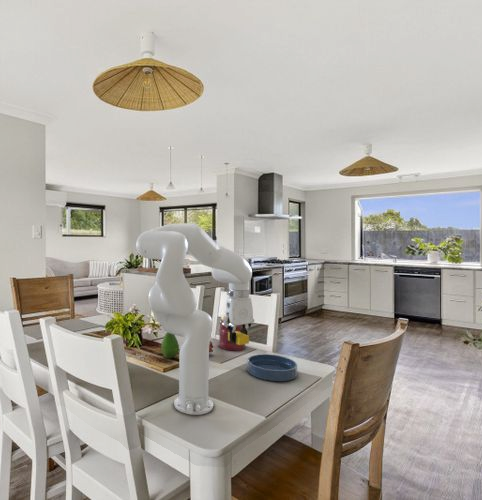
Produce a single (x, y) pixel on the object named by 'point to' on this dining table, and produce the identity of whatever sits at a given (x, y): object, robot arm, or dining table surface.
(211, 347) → the dragon fruit
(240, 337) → the sponge
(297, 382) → the dining table surface
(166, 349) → the avocado
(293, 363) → the bowl
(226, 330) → the kitchen canister
